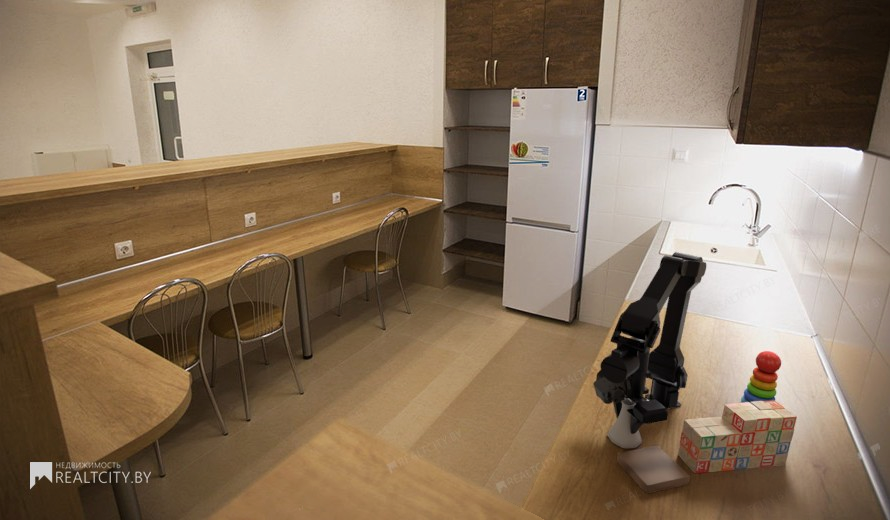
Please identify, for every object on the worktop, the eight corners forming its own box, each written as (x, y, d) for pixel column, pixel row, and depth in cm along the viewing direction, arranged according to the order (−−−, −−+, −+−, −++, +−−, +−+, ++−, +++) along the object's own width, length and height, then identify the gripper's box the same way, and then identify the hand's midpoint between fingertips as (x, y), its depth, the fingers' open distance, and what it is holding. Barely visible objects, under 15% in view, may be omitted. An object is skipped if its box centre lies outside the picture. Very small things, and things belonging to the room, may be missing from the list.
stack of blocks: (694, 474, 106) (703, 424, 102) (677, 455, 112) (685, 406, 108) (786, 465, 109) (798, 415, 105) (764, 446, 114) (775, 399, 111)
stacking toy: (738, 426, 121) (752, 356, 116) (732, 408, 129) (745, 341, 123) (776, 433, 119) (792, 362, 113) (768, 415, 126) (783, 347, 121)
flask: (601, 434, 118) (605, 396, 115) (625, 427, 121) (630, 390, 118) (623, 453, 112) (628, 413, 109) (648, 444, 115) (653, 406, 112)
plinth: (616, 461, 109) (617, 453, 109) (656, 453, 112) (657, 445, 111) (646, 493, 100) (647, 485, 100) (688, 484, 103) (689, 476, 102)
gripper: (579, 350, 117) (573, 409, 122) (627, 392, 100) (619, 458, 105) (620, 345, 120) (614, 402, 125) (674, 384, 103) (664, 449, 108)
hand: (626, 426), depth 115 cm, fingers closed on flask, 5 cm apart
